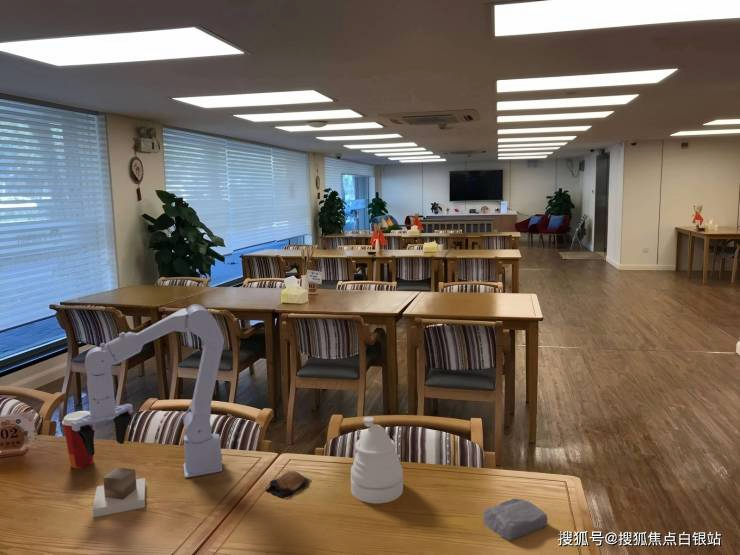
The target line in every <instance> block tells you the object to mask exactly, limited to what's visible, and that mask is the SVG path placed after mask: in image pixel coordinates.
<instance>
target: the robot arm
mask: <svg viewBox="0 0 740 555" xmlns="http://www.w3.org/2000/svg"><path fill="white" fill-rule="evenodd" d="M187 329H188V330H189V331H190V333H192V334H194V335H195V336H197V337H199V339H201V341H202V342H203V343H204V344H203V347H202V352H201V357H200V361H199V367H198V371H197V376H196V381H195V385H194V386H195V387H194V391H193V395H192V399H191V401H190V403H189V407H188V409H187V411H186V412H185V413H184V415H183V418H182V422H183V423H182V424H183V425H184V427H185V435H184V436H183V447H184V448H183V451H184V463H182V464H183V474H184V478H185V479H187V478H193V477H198V476H203V475H209V474H215V473H218V472H219V473H221V472H222V471H223V463H222V461H223V454H222V447H221V446H222V445H221V437H220V434H219V433H212V425H211V417H212V412H211V410H212V407H211V406H212V401H213V395H214V391H215V386H216V382H217V381H216V380H217V376H218V372H219V367H220V363H221V357H222V353H223V348H224V343H225V337H224V335H223V334H222V332H221V328H220V327H219V324H218V322H217V320H216V319H215V317H214V316H213V315H212V313H211V312H210V311H209V310H208V309H207V308H206V307H205V306H203V305H201V304H198V303H197V304H195V303H194V304H191V305H189V306H188V307H187V308H184V307H183V308H181V309H178V310H177V311H175V312H173V313H172V314H170V315H168V316H166V317H164V318H162V319H161V320H159V321H157V322H155V323H153V324H151V325H150V326H148V327H146V328H144V329H143V330H140V331H139V332H133V331H128V332H125V331H123V332H120V333H119V334H118V337H116V338H114V339H112V340H110V341H109V342H106V343H105V342H102V343H100V344H99V346H95V347H93V348H90V350H88V352H87V353H86V355H85V359H84V367H85V369H86V370H85V371H86V378H87V379H86V384H87V386H86V387H87V394H88V395H87V396H88V405H89V406H88V407H89V411H90V414H88V415H86V416H84V417H82V418H80V419H78V420H76V421H73V422H71V424H72V430H74V431H76V432H77V434H78V435H79V436H80V438H81V439H82V441H83V443H84V445H85V447H86V450H87V453H88V454H89V455H94V456H95V432H96V431H95V430H94V429H93V430H92V429H91V427H90V425H93V426H94V425H95V424H99V423H102V422H105V421H110V420H113V423H114V428H115V436H116V442H117V443H118V444H120V445H123V444H125V439H126V432H127V429H128V427H129V425H130V423H131V420H132V418H133V417H132V414H131V413H133V412H134V410H133V408H134V407H133V404H130V403H125V404H121V405H118V406H117V405H116V402H115V401H116V399H115V390H114V388H115V387H114V377H113V375H112V368H111V367H112V366H113V365H117V364H120V363H122V362H124V361H125V360H127V359H129V358H131V357H133V356H135V355H137V354H139V353H141V351H142V350H143V346H144V345H147V344H148V343H151V342H153V341H154V340H156V339H159V338H160V337H161V338H162V337H163V336H165V335H167V334H170V333H171V332H179V333H180V332H182V333H187Z"/></svg>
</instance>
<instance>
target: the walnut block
mask: <svg viewBox="0 0 740 555" xmlns="http://www.w3.org/2000/svg"><path fill="white" fill-rule="evenodd" d="M136 476H137V475H136V469H134V468H125V467H116V468H114V469H113V470H112V471H110V472H108V473H107V474H106V475H104V476H103V477H102V481H103V485H104V493H105V497H107V498H115V499H124V498H126V497H127V496H128V495H129V494H131V493H132V492H133V491H134V490H136V489H137V486H136V479H137V477H136Z"/></svg>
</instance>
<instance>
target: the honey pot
mask: <svg viewBox="0 0 740 555" xmlns="http://www.w3.org/2000/svg"><path fill="white" fill-rule="evenodd" d="M374 419H375V417H372V416H365V417H363V418H362V420H363V424H364V425H365V426H366V427H368V429H367V430H366V432H364V434H363V436H362V438H359V439H358V440H357V441H356V442H355V444H354V449H355V450H356V454H355V455H354V460H353V462H352V463H353V464H352V465H351V468H350V492H351V494H352V496H353V497H354V498H355V499H357V500H359V501H361V502H364V503H368V504H384V503H389V502H393V501H395V500H397V499H398V498H400V497H401V495H402V494H403V492H404V479H403V478H404V475H403V473H404V471H403V467H402V465H401V461H400V459H399V454H398V453H397V451H396V448H397V447H396V446H397V444H396V442H395V441H394V440H393V439H392V438H390V437H391V436H390V434H388V432H387V431H386V429H385V428H384V427H383V426H381V425H379V424H377V423H374Z"/></svg>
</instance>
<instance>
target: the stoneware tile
mask: <svg viewBox="0 0 740 555" xmlns="http://www.w3.org/2000/svg"><path fill="white" fill-rule="evenodd" d="M136 486H137V489H136V490H134V491H133V492H132V493H131V494H129V495H128V496H127V497H126V498H124V499H115V498H107V497H105V493H104V484H102V485H99V486H96V490H95V493H94V494H95V495H94V500H93V504H92V516H93V517H92V518H98V517H103V516H108V515H113V514H114V515H115V514H118V513H123V512H128V511H134V510H138V509H143V508H146V478H145V477H142V478H136Z"/></svg>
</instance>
